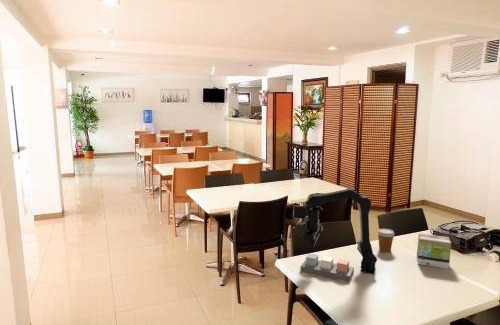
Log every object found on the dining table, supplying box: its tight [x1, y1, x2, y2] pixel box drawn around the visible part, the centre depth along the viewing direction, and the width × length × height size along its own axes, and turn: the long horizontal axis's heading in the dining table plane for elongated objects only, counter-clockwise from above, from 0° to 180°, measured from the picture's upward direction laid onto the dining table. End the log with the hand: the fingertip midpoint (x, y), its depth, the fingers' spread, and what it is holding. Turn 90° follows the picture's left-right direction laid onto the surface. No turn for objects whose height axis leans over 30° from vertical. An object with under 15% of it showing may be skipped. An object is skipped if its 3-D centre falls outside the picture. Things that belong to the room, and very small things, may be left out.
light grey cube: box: [305, 253, 319, 267], centre depth 183 cm, size 5×5×5 cm
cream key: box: [320, 255, 334, 270], centre depth 180 cm, size 5×5×5 cm
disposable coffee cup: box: [377, 228, 395, 253], centre depth 208 cm, size 10×10×12 cm
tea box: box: [416, 233, 452, 270], centre depth 189 cm, size 15×10×15 cm
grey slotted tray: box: [299, 259, 355, 283], centre depth 180 cm, size 25×11×3 cm, turn 64°
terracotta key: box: [336, 258, 350, 273], centre depth 176 cm, size 5×5×5 cm
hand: (312, 247), depth 182 cm, fingers closed
